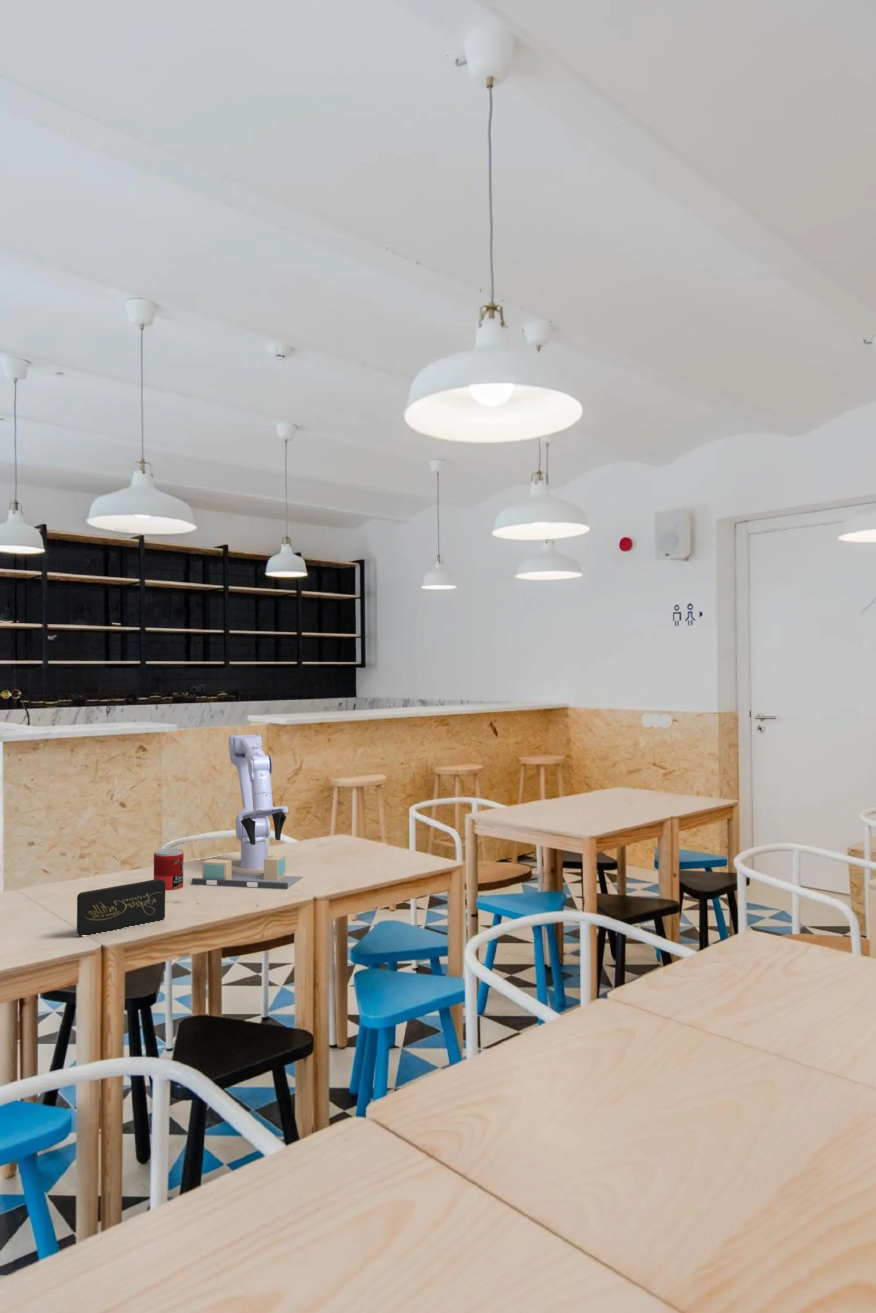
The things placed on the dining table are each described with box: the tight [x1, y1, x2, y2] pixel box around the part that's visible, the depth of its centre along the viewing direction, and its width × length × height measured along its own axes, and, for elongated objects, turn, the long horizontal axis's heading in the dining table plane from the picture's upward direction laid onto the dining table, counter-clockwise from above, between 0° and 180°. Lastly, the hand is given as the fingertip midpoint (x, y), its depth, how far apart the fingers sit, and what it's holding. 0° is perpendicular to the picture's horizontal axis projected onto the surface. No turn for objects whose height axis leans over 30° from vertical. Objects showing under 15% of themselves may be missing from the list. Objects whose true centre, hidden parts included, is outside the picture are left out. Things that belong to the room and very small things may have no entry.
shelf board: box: [191, 872, 304, 891], centre depth 255 cm, size 15×28×2 cm, turn 80°
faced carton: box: [201, 858, 233, 880], centre depth 253 cm, size 7×4×6 cm, turn 80°
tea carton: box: [263, 853, 287, 881], centre depth 259 cm, size 7×4×6 cm, turn 170°
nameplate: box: [76, 879, 166, 937], centre depth 212 cm, size 21×2×10 cm, turn 134°
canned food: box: [153, 847, 185, 892], centre depth 247 cm, size 8×8×11 cm
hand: (265, 841), depth 256 cm, fingers open, 7 cm apart
